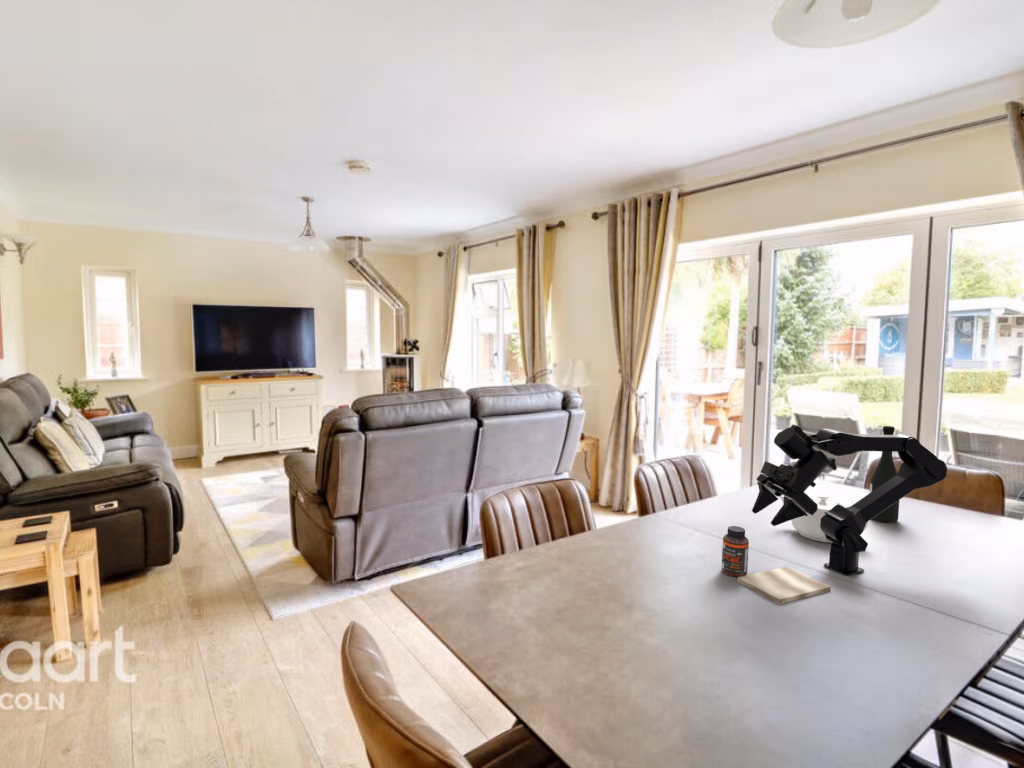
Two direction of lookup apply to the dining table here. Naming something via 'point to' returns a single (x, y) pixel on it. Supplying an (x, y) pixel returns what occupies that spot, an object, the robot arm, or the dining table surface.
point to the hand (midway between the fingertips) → (762, 518)
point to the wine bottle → (885, 480)
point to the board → (783, 584)
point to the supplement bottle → (735, 552)
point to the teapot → (814, 519)
